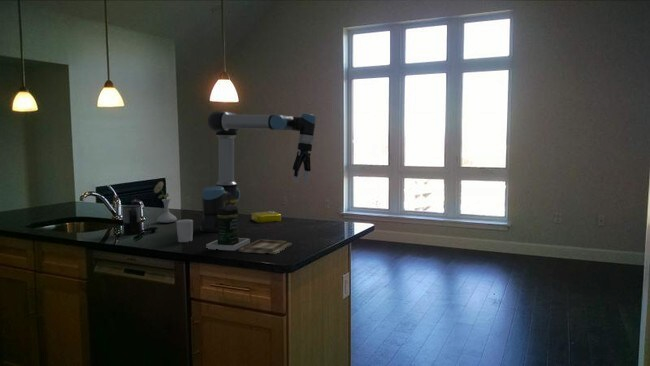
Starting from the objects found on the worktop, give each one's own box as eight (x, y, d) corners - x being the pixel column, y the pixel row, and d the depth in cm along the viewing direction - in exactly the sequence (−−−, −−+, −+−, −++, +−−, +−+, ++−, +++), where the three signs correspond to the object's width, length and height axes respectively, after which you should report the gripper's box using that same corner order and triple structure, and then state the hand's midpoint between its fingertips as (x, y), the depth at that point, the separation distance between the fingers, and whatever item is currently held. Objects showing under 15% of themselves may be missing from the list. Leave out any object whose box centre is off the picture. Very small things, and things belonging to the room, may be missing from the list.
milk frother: (120, 233, 253) (118, 205, 252) (148, 229, 265) (147, 202, 263) (132, 237, 244) (130, 208, 242) (161, 232, 255) (159, 205, 254)
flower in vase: (169, 220, 293) (167, 179, 291) (181, 221, 286) (179, 180, 284) (150, 223, 282) (148, 181, 280) (162, 225, 276) (160, 182, 273)
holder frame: (206, 248, 216) (206, 244, 216) (223, 241, 231) (223, 237, 231) (233, 250, 212) (233, 246, 212) (250, 242, 227) (249, 238, 227)
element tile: (251, 219, 293) (250, 212, 293) (274, 217, 300) (274, 210, 299) (257, 223, 280) (257, 215, 279) (282, 221, 286) (281, 213, 285)
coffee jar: (227, 249, 215) (226, 208, 213) (214, 246, 220) (213, 207, 218) (242, 244, 223) (241, 205, 222) (230, 242, 228) (228, 204, 226)
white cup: (184, 243, 228) (183, 222, 227) (173, 241, 232) (172, 221, 231) (197, 240, 234) (196, 220, 233) (186, 238, 239) (185, 218, 238)
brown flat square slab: (238, 251, 210) (238, 247, 210) (256, 242, 227) (256, 238, 227) (276, 254, 205) (276, 249, 204) (291, 245, 222) (291, 240, 221)
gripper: (303, 142, 239) (298, 183, 240) (319, 145, 263) (314, 183, 264) (289, 140, 242) (284, 181, 243) (306, 144, 265) (301, 181, 266)
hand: (300, 182), depth 253 cm, fingers open, 13 cm apart
